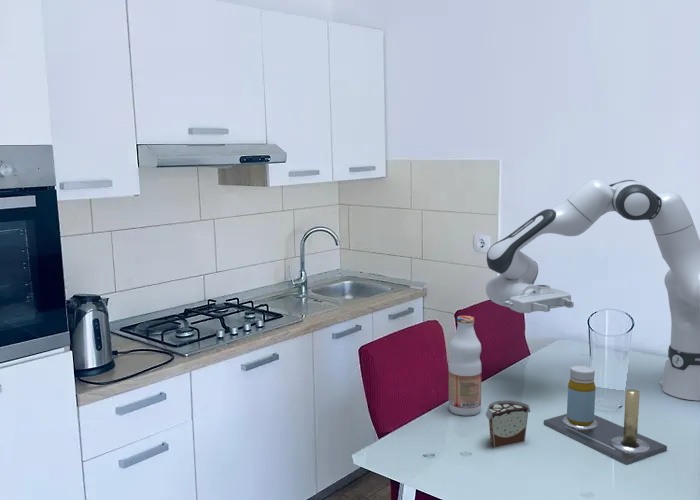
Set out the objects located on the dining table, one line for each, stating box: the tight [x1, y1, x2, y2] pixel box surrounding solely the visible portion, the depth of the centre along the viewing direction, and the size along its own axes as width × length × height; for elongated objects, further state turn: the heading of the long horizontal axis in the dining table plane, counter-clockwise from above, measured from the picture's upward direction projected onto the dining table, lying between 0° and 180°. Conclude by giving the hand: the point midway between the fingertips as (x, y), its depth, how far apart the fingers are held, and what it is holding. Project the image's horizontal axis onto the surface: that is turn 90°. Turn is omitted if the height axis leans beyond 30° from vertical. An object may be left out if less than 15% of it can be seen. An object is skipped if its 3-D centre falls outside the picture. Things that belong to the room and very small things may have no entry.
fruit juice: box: [448, 315, 482, 417], centre depth 187 cm, size 9×9×28 cm
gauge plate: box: [543, 388, 668, 465], centre depth 169 cm, size 15×27×15 cm, turn 28°
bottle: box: [566, 364, 596, 426], centre depth 175 cm, size 7×7×15 cm
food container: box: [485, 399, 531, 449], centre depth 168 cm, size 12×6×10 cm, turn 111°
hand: (560, 306), depth 187 cm, fingers open, 8 cm apart
